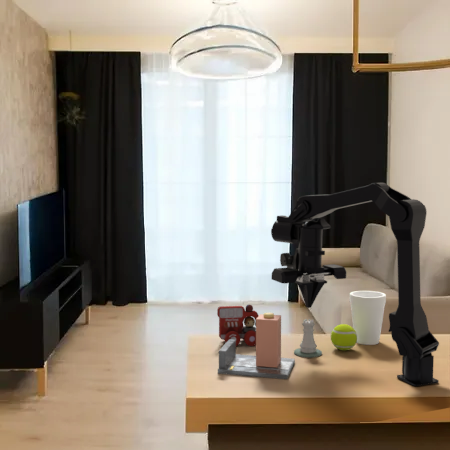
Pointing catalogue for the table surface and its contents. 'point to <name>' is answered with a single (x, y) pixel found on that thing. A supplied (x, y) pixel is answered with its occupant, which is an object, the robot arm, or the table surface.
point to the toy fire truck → (237, 324)
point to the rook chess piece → (308, 338)
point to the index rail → (250, 364)
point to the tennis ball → (343, 337)
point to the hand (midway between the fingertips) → (308, 307)
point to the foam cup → (367, 315)
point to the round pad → (299, 353)
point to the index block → (268, 340)
